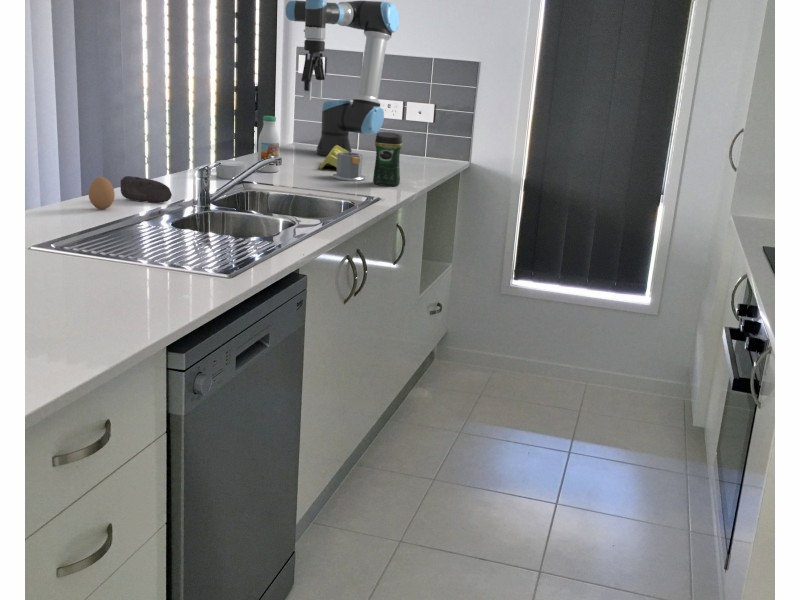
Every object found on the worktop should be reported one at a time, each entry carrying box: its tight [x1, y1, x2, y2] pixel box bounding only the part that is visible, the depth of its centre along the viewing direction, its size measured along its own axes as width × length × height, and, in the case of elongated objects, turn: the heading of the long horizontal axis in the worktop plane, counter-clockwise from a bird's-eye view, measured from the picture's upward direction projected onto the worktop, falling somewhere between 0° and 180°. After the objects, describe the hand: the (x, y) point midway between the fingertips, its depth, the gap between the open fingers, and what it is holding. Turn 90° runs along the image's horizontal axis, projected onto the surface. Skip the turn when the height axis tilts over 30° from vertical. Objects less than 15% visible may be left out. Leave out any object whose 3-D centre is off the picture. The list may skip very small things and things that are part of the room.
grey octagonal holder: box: [335, 152, 363, 178], centre depth 311 cm, size 8×11×8 cm
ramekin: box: [214, 159, 248, 180], centre depth 297 cm, size 11×11×5 cm
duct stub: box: [332, 173, 366, 182], centre depth 312 cm, size 12×12×8 cm
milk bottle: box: [257, 115, 280, 173], centre depth 312 cm, size 8×8×20 cm
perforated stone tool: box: [119, 175, 173, 203], centre depth 248 cm, size 15×5×7 cm, turn 80°
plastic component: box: [318, 145, 348, 170], centre depth 336 cm, size 20×7×10 cm
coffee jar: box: [372, 131, 403, 187], centre depth 304 cm, size 10×8×19 cm
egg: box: [88, 176, 116, 210], centre depth 234 cm, size 7×7×9 cm
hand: (312, 98), depth 320 cm, fingers open, 13 cm apart
